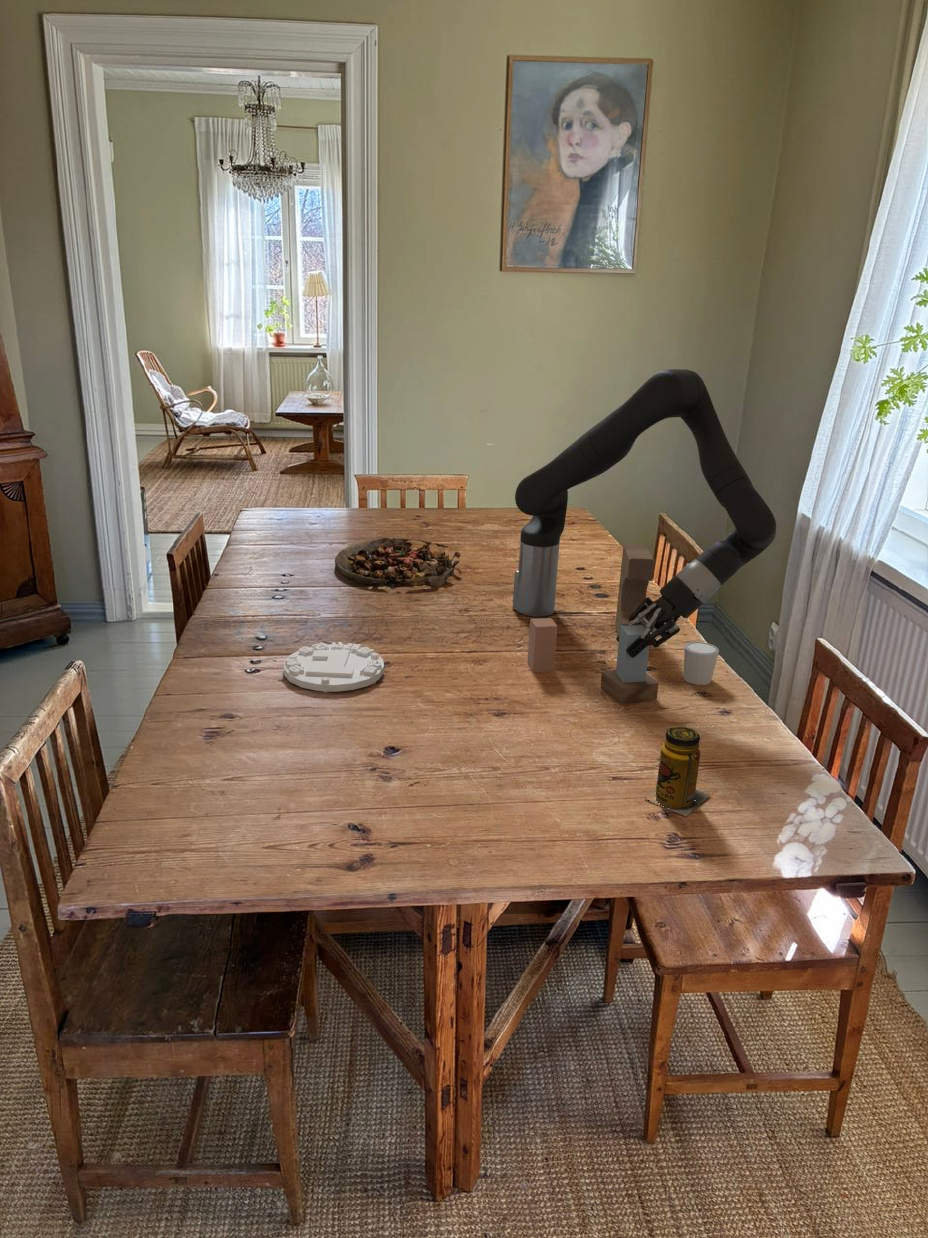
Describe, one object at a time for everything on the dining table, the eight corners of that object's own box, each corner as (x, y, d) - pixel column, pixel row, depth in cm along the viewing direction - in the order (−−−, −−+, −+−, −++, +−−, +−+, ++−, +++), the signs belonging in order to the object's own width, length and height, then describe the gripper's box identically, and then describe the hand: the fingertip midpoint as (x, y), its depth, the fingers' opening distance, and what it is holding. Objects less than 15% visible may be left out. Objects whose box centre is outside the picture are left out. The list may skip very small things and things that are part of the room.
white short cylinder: (715, 675, 195) (720, 644, 193) (712, 688, 189) (717, 656, 186) (682, 669, 197) (686, 639, 195) (678, 682, 191) (682, 651, 188)
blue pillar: (623, 682, 181) (628, 634, 178) (615, 672, 185) (620, 625, 182) (645, 681, 182) (650, 633, 178) (637, 671, 186) (642, 624, 182)
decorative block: (645, 646, 208) (655, 560, 201) (619, 644, 208) (628, 558, 201) (639, 627, 219) (648, 545, 211) (614, 626, 219) (623, 543, 212)
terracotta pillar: (532, 672, 193) (535, 626, 189) (527, 663, 197) (530, 618, 194) (553, 671, 194) (557, 626, 190) (548, 662, 198) (551, 618, 194)
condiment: (644, 800, 149) (652, 733, 145) (670, 780, 155) (679, 715, 151) (685, 818, 145) (695, 749, 140) (710, 796, 151) (721, 730, 147)
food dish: (484, 582, 248) (485, 554, 245) (373, 605, 231) (373, 575, 228) (414, 543, 275) (415, 517, 272) (311, 561, 257) (310, 534, 254)
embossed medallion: (264, 683, 184) (264, 669, 183) (315, 647, 201) (315, 635, 200) (355, 703, 177) (355, 689, 176) (400, 665, 195) (400, 651, 194)
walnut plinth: (621, 707, 180) (623, 688, 179) (600, 689, 187) (601, 671, 186) (656, 701, 183) (658, 682, 182) (634, 684, 190) (636, 666, 189)
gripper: (664, 563, 184) (600, 622, 186) (694, 588, 171) (624, 651, 173) (687, 588, 187) (623, 646, 189) (717, 614, 174) (648, 676, 176)
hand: (624, 648), depth 181 cm, fingers open, 5 cm apart
